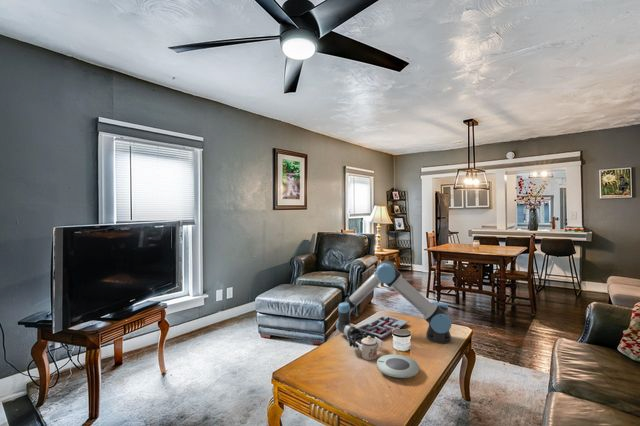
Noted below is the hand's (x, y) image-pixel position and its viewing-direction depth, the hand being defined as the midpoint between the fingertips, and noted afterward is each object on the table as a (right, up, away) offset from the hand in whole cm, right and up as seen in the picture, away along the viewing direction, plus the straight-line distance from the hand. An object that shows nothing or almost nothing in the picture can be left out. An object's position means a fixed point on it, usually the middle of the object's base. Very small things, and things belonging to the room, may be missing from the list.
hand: (372, 346), depth 175 cm
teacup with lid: (-1, -7, +2) cm, 7 cm away
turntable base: (+11, -6, -16) cm, 20 cm away
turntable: (+11, -4, -16) cm, 19 cm away
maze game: (+15, -6, +41) cm, 44 cm away
